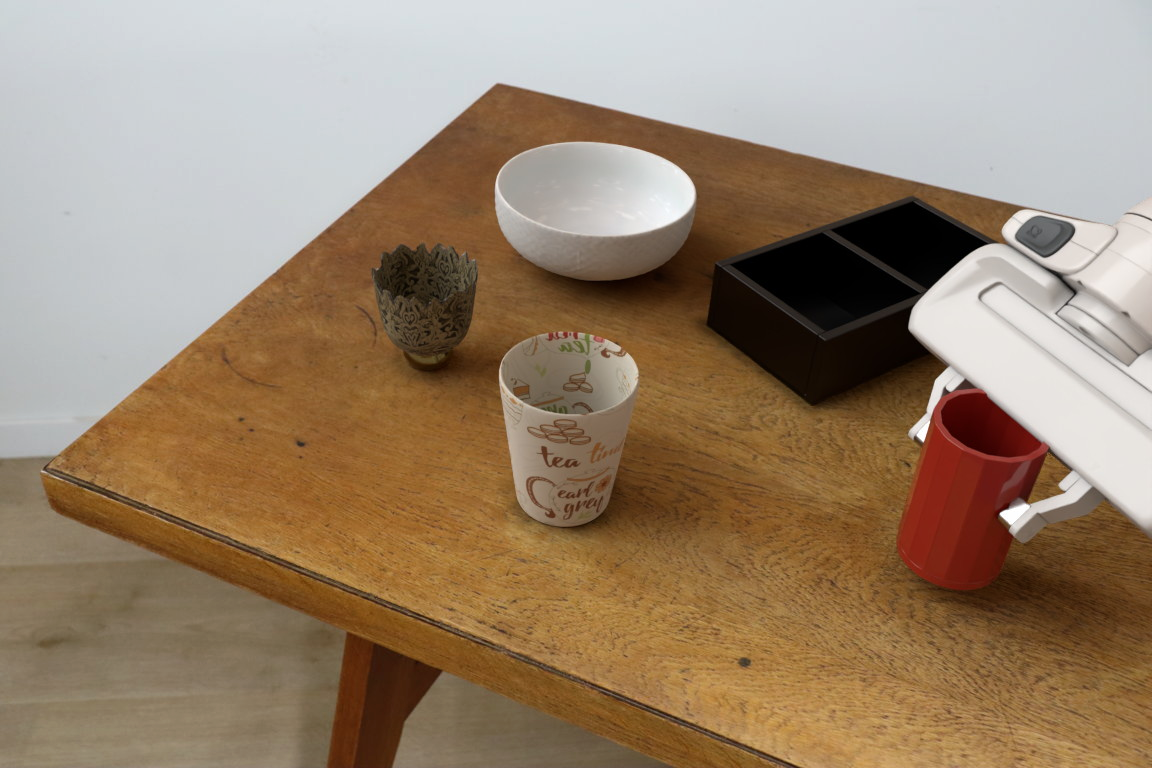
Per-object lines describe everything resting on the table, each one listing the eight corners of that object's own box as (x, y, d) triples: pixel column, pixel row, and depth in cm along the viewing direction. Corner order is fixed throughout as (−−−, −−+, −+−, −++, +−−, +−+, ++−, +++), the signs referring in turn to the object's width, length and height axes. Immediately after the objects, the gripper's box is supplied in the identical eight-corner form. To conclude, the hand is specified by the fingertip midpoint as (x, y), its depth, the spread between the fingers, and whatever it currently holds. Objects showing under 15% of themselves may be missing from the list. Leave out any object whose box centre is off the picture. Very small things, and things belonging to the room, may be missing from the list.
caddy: (897, 253, 98) (912, 194, 95) (1007, 319, 91) (1028, 258, 87) (706, 324, 88) (714, 261, 84) (811, 405, 80) (826, 340, 77)
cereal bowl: (684, 321, 88) (694, 244, 84) (478, 301, 89) (477, 223, 85) (691, 218, 102) (700, 147, 97) (512, 201, 103) (512, 130, 98)
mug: (481, 526, 69) (480, 400, 63) (535, 405, 79) (538, 286, 73) (612, 553, 68) (624, 427, 62) (650, 427, 77) (663, 307, 71)
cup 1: (457, 399, 79) (455, 305, 74) (362, 378, 80) (353, 285, 76) (492, 341, 85) (492, 251, 80) (402, 323, 86) (396, 233, 81)
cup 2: (943, 501, 70) (984, 376, 64) (1023, 563, 66) (1075, 435, 60) (874, 539, 67) (910, 412, 61) (954, 606, 63) (1001, 477, 57)
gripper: (1327, 444, 55) (1117, 633, 58) (1035, 247, 70) (877, 405, 72) (1306, 395, 51) (1080, 601, 54) (999, 196, 65) (833, 366, 68)
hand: (961, 487), depth 63 cm, fingers closed on cup 2, 6 cm apart
